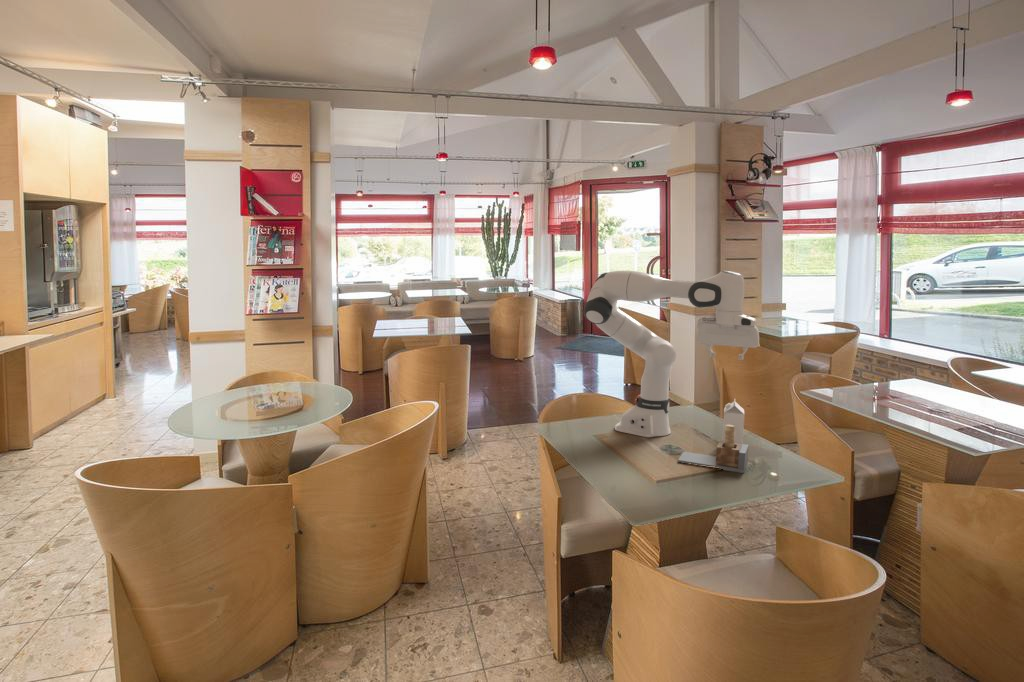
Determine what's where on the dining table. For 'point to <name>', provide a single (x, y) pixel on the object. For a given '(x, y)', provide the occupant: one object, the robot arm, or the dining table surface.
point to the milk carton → (734, 420)
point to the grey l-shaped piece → (711, 460)
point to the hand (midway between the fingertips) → (726, 358)
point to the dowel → (729, 436)
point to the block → (728, 454)
